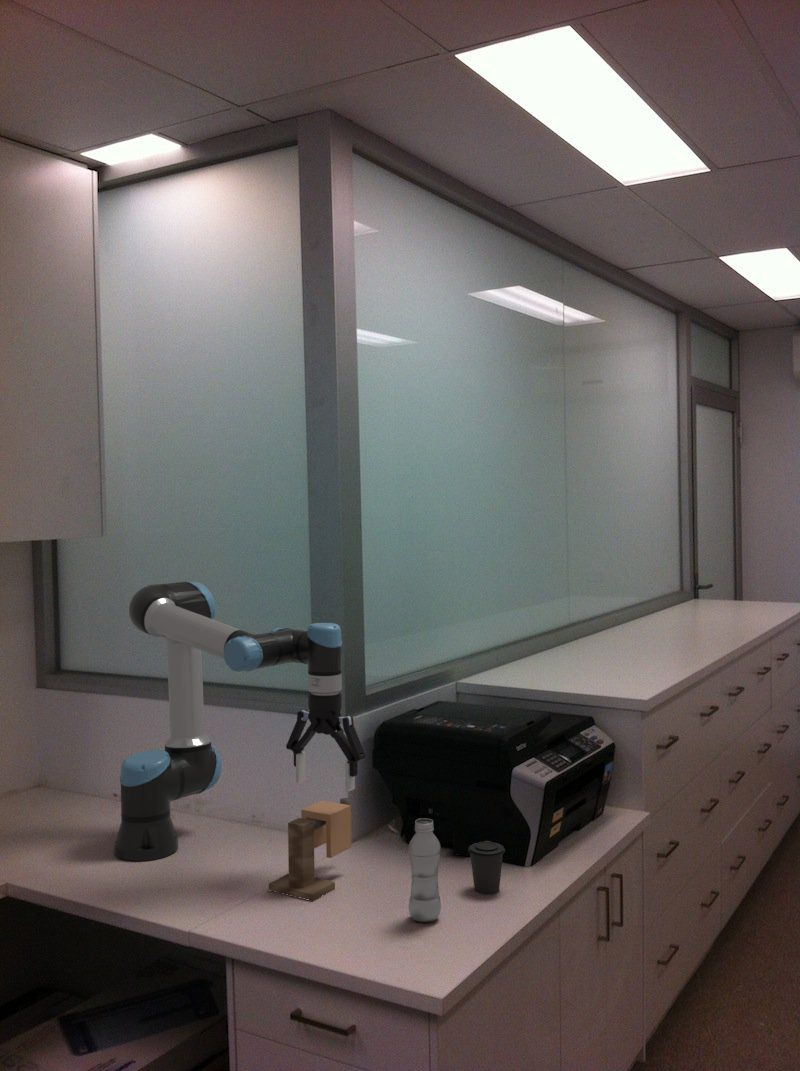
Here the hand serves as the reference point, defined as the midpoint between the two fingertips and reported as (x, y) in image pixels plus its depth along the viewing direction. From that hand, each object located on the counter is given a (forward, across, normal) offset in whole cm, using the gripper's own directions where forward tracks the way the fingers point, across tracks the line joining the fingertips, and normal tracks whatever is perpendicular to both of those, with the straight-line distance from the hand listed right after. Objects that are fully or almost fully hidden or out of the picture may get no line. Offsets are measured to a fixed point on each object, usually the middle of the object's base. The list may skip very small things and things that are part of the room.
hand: (325, 785), depth 225 cm
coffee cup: (+20, +36, +10) cm, 42 cm away
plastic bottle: (+20, +32, -10) cm, 39 cm away
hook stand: (+20, 0, -2) cm, 21 cm away
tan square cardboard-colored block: (+14, 0, 0) cm, 15 cm away
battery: (+20, +20, +29) cm, 41 cm away
